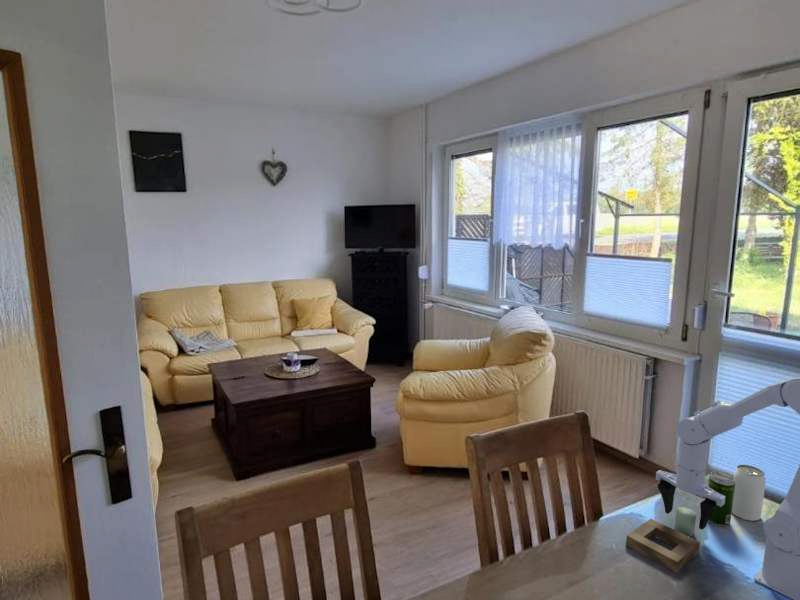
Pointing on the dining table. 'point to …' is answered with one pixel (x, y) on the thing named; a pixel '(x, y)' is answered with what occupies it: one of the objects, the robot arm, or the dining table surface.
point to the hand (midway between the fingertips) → (685, 519)
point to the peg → (685, 521)
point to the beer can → (726, 487)
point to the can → (748, 492)
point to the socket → (670, 559)
